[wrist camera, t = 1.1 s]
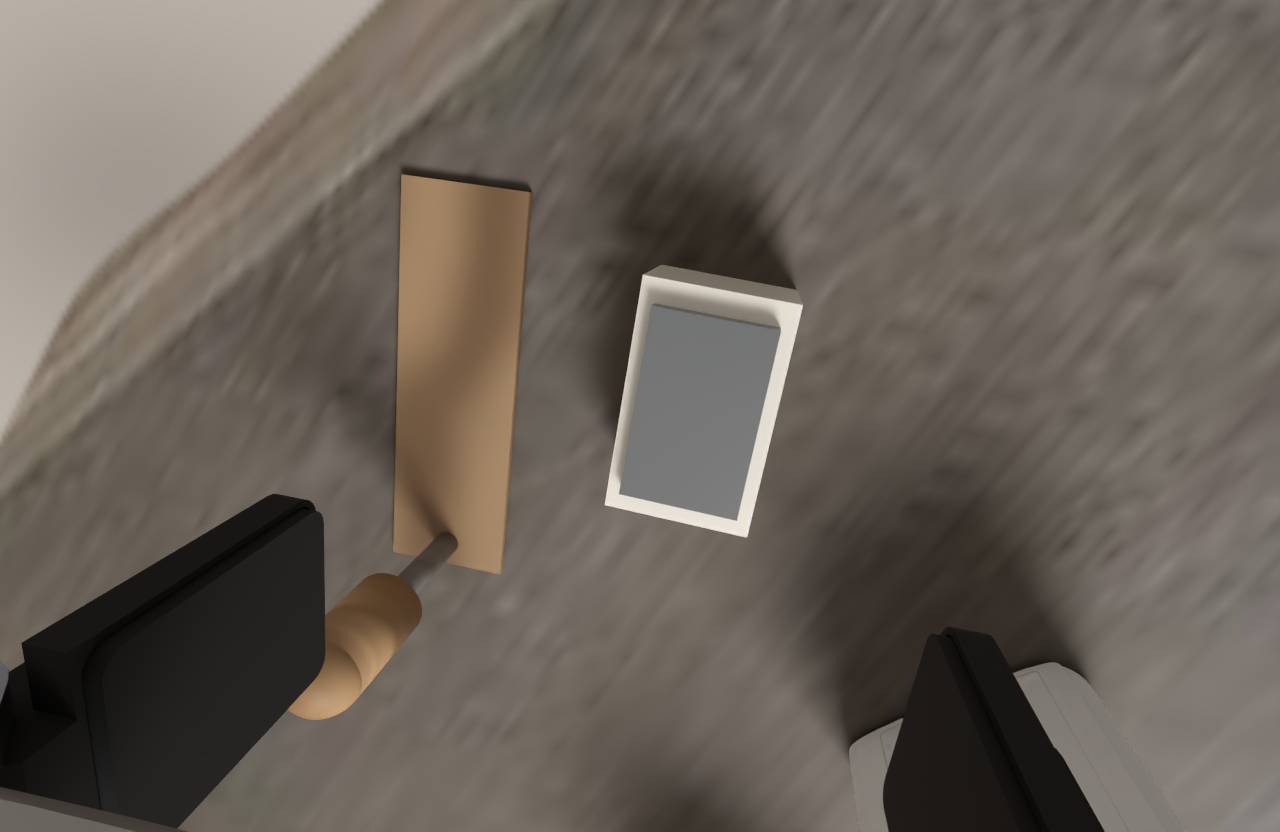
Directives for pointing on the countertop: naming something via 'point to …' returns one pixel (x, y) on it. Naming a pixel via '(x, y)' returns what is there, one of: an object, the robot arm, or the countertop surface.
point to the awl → (369, 631)
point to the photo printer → (1076, 729)
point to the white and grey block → (701, 397)
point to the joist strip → (458, 364)
